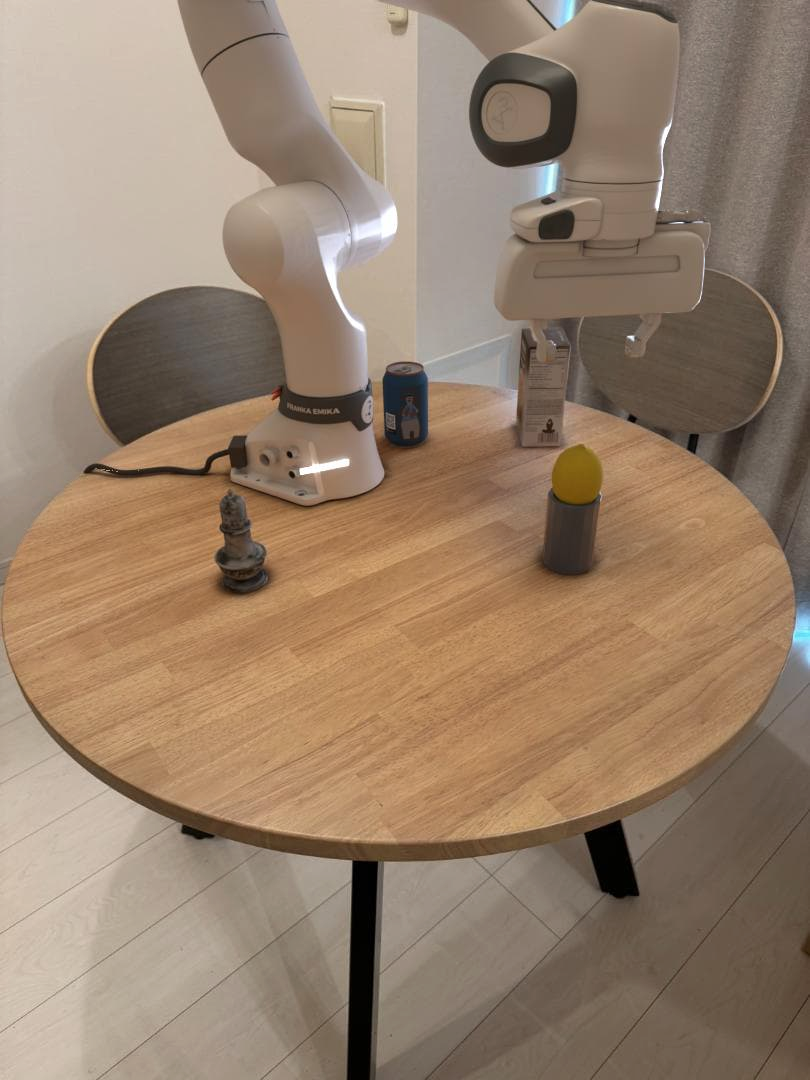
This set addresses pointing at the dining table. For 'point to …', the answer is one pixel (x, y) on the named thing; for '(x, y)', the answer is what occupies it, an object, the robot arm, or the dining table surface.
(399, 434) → the soda can
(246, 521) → the grey chess piece
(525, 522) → the dining table surface
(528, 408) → the coffee box
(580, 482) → the lemon
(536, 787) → the dining table surface
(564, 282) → the robot arm
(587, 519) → the cup
